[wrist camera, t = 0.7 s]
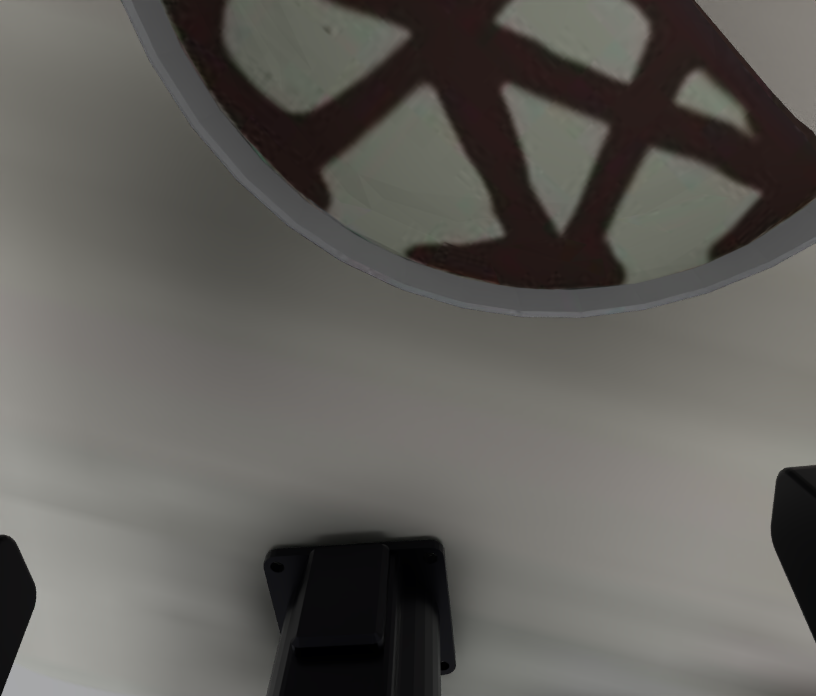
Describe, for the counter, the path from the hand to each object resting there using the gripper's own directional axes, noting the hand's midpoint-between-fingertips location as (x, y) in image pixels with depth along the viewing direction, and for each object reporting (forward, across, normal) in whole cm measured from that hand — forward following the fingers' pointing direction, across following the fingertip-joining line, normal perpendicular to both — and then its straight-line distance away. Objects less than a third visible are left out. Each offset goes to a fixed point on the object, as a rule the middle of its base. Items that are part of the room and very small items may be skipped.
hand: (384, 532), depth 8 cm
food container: (+13, -1, -6) cm, 14 cm away
